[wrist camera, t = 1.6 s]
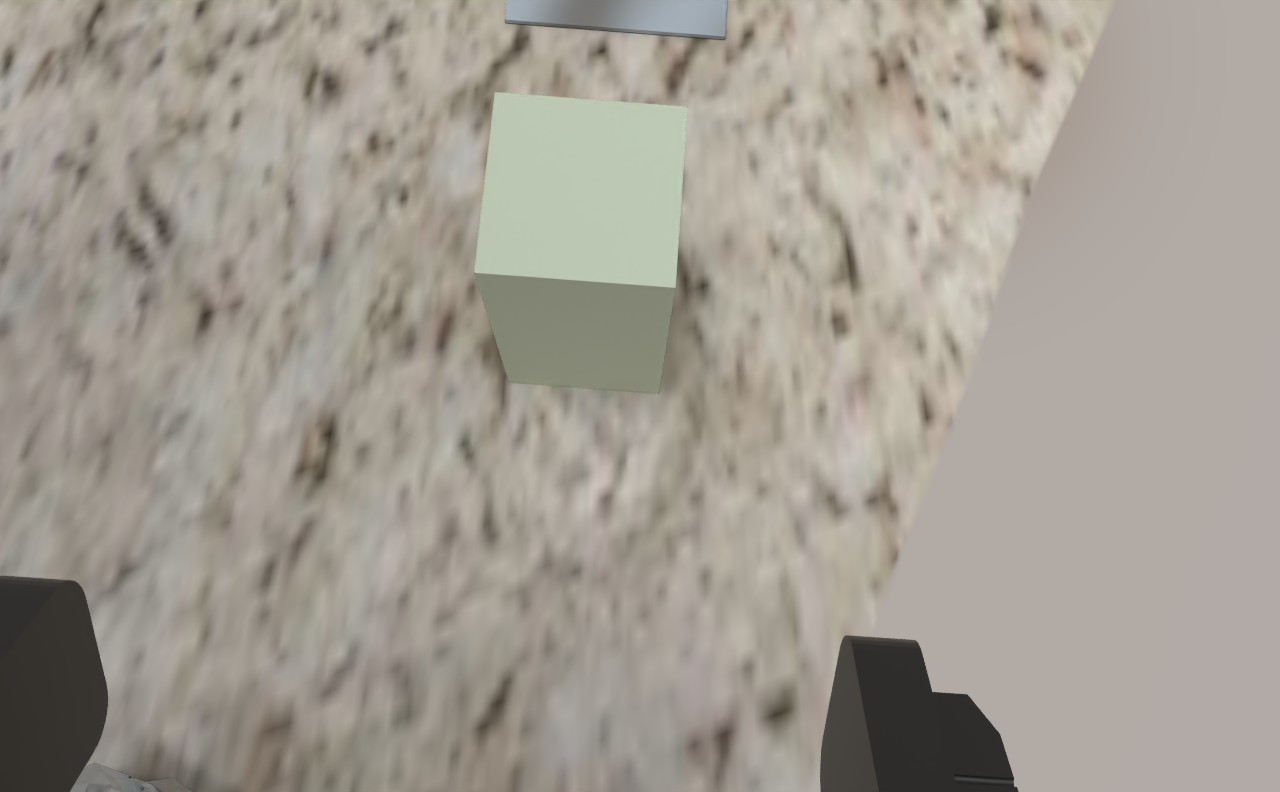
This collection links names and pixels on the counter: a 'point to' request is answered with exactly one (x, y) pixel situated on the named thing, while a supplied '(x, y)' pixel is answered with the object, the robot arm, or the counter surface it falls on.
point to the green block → (581, 239)
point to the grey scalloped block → (121, 782)
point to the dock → (625, 15)
